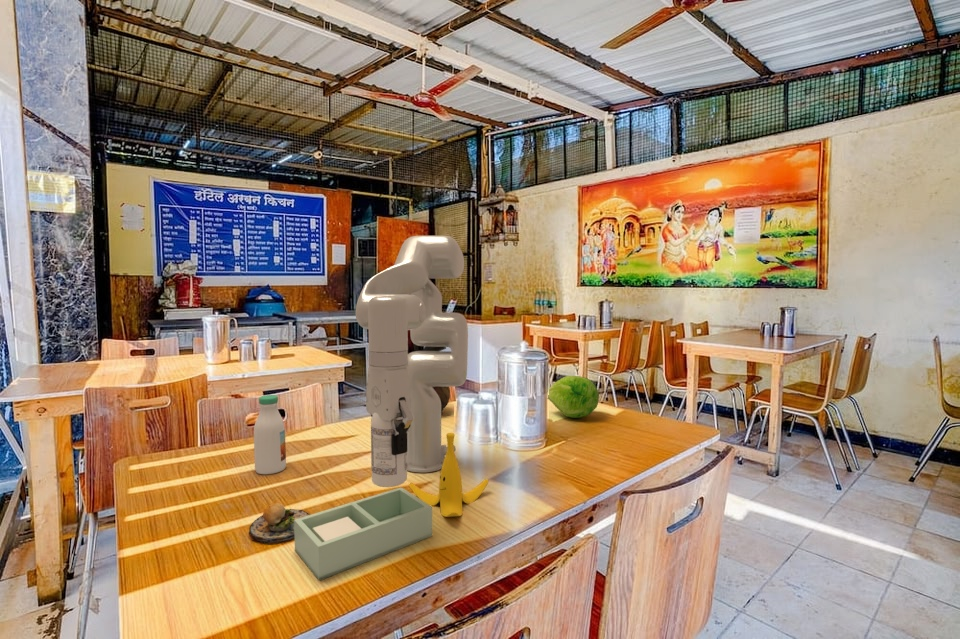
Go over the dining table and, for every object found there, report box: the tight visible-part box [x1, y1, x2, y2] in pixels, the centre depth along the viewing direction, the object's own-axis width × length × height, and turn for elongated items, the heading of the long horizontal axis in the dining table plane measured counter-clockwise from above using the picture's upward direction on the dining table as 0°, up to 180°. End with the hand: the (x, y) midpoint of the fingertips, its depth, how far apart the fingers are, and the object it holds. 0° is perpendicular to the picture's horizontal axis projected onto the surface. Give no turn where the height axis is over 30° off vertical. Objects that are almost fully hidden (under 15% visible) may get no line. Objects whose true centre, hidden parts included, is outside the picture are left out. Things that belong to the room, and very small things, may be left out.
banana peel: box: [408, 432, 490, 518], centre depth 112 cm, size 17×19×17 cm
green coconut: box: [547, 375, 600, 419], centre depth 182 cm, size 17×20×16 cm
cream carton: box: [312, 517, 361, 542], centre depth 91 cm, size 7×7×4 cm
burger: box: [248, 501, 311, 545], centre depth 99 cm, size 12×12×8 cm
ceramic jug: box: [413, 343, 451, 416], centre depth 185 cm, size 17×15×30 cm
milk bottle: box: [253, 394, 287, 475], centre depth 130 cm, size 8×8×20 cm
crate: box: [294, 486, 433, 582], centre depth 94 cm, size 23×12×6 cm, turn 129°
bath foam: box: [370, 413, 408, 488], centre depth 96 cm, size 7×7×20 cm
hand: (389, 447), depth 96 cm, fingers closed on bath foam, 7 cm apart
